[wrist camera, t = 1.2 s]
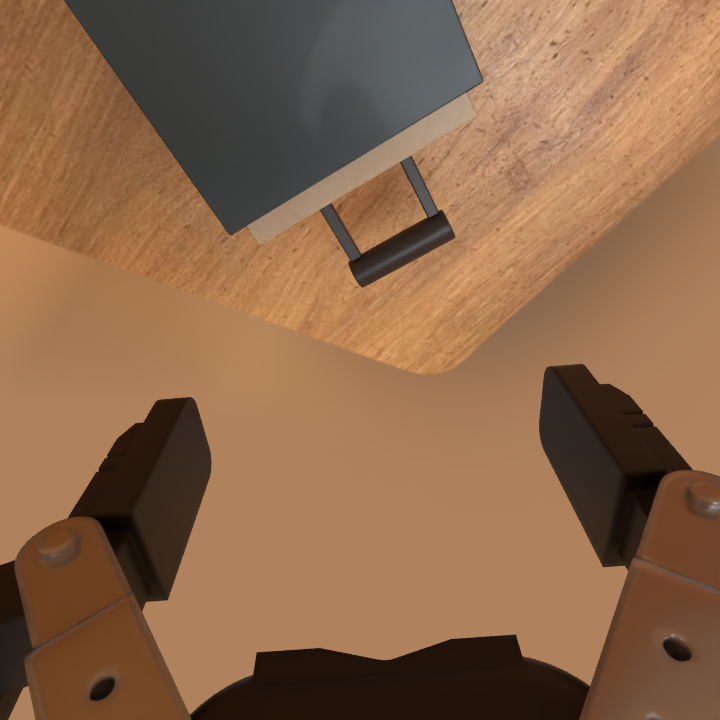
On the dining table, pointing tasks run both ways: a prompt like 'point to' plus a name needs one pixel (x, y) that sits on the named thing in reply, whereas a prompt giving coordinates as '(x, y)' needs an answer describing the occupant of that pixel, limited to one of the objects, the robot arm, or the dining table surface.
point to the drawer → (361, 171)
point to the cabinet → (279, 84)
